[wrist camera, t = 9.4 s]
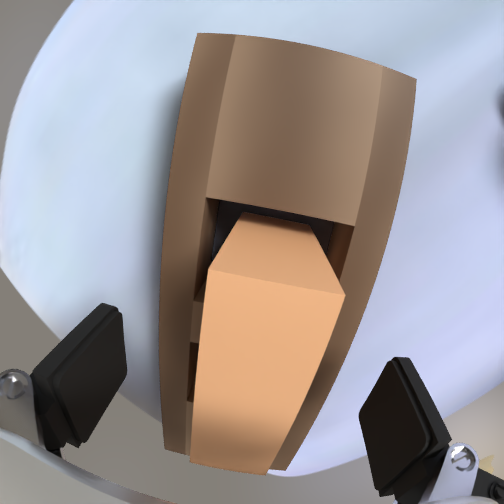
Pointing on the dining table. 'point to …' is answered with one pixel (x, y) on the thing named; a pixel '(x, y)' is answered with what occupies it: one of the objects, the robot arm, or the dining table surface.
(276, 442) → the clip
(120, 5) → the dining table surface
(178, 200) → the rail
